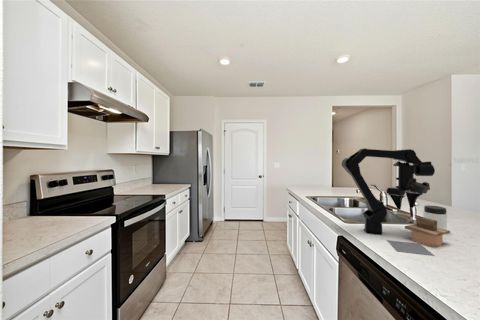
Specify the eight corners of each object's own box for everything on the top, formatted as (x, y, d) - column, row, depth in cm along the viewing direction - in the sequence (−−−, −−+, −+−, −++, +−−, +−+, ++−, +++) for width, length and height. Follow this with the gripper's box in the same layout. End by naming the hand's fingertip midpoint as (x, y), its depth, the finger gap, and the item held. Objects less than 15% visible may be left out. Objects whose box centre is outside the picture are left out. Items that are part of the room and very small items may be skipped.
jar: (443, 235, 100) (443, 210, 100) (421, 230, 107) (421, 206, 107) (448, 231, 105) (448, 207, 105) (427, 227, 112) (427, 204, 112)
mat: (396, 252, 82) (397, 251, 82) (386, 240, 94) (386, 240, 94) (435, 257, 79) (435, 256, 79) (419, 244, 90) (419, 243, 90)
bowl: (417, 245, 89) (417, 233, 89) (407, 236, 99) (407, 225, 99) (447, 248, 86) (447, 236, 86) (434, 239, 96) (434, 228, 96)
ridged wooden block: (434, 236, 85) (434, 224, 85) (404, 228, 96) (404, 217, 96) (450, 233, 89) (450, 221, 89) (419, 225, 100) (419, 214, 100)
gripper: (412, 178, 90) (411, 214, 91) (438, 176, 97) (437, 210, 97) (385, 175, 101) (385, 208, 101) (411, 174, 107) (410, 205, 108)
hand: (405, 208), depth 101 cm, fingers open, 9 cm apart
